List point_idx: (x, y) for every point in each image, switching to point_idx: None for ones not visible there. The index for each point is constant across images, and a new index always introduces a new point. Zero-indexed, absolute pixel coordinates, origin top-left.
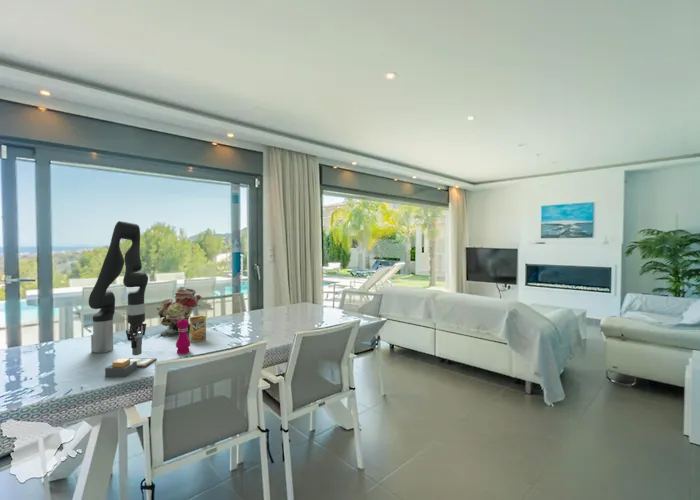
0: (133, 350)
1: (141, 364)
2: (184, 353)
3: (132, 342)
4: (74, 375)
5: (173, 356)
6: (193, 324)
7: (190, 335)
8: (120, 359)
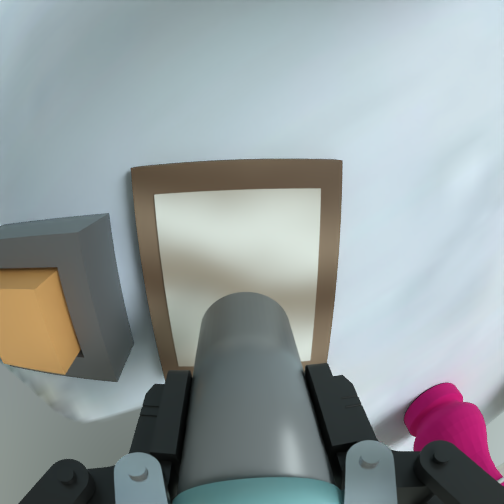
0: (196, 354)
1: (186, 354)
2: (405, 424)
3: (142, 450)
4: (20, 16)
5: (377, 405)
6: None
7: None
8: (26, 311)
